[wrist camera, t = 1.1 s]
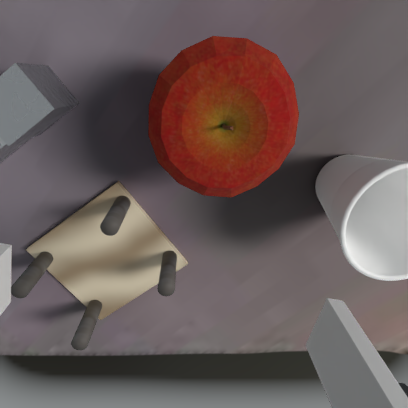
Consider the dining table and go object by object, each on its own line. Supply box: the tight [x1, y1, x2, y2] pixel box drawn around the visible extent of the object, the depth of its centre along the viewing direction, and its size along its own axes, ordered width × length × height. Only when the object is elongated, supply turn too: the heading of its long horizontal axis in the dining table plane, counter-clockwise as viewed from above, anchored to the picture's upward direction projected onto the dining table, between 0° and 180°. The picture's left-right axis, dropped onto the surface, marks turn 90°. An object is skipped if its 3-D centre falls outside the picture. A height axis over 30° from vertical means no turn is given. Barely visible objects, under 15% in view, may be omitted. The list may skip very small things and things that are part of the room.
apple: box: [148, 36, 299, 197], centre depth 26 cm, size 11×11×12 cm
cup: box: [315, 155, 408, 281], centre depth 30 cm, size 10×10×11 cm
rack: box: [11, 181, 188, 350], centre depth 34 cm, size 12×13×7 cm
